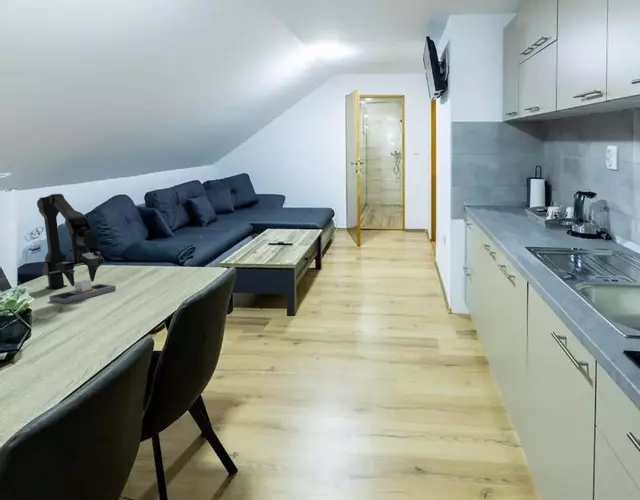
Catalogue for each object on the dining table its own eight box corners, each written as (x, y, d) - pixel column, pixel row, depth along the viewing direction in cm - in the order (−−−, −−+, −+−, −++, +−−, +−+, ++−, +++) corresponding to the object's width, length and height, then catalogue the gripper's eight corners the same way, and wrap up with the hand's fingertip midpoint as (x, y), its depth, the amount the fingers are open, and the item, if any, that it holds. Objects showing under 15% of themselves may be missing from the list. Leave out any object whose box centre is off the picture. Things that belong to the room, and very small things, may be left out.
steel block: (75, 296, 240) (74, 282, 239) (85, 294, 244) (83, 279, 243) (82, 297, 238) (81, 283, 237) (92, 295, 242) (90, 280, 241)
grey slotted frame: (50, 301, 233) (49, 296, 233) (100, 288, 253) (99, 283, 253) (66, 304, 228) (65, 298, 228) (115, 290, 248) (115, 285, 248)
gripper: (71, 251, 225) (76, 290, 228) (111, 243, 241) (114, 280, 244) (53, 249, 231) (57, 288, 234) (93, 242, 247) (96, 278, 249)
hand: (82, 283), depth 240 cm, fingers open, 9 cm apart
